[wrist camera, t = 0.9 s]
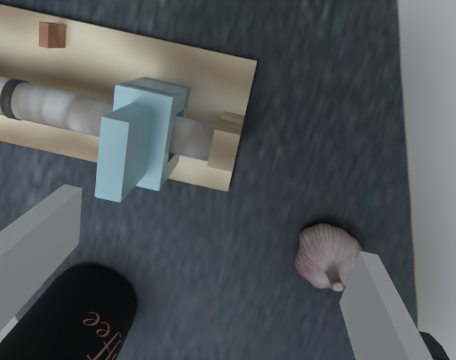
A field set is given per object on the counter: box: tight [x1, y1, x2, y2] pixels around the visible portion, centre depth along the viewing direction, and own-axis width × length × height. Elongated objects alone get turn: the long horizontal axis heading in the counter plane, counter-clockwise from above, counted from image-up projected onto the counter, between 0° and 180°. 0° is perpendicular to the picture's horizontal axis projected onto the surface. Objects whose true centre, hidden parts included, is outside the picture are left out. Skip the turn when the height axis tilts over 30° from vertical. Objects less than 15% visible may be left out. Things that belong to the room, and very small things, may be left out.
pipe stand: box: [0, 4, 257, 192], centre depth 32 cm, size 13×26×10 cm, turn 78°
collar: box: [95, 76, 191, 202], centre depth 27 cm, size 7×4×12 cm, turn 168°
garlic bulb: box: [295, 223, 364, 291], centre depth 37 cm, size 8×7×8 cm
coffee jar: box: [0, 267, 136, 360], centre depth 37 cm, size 11×11×18 cm
